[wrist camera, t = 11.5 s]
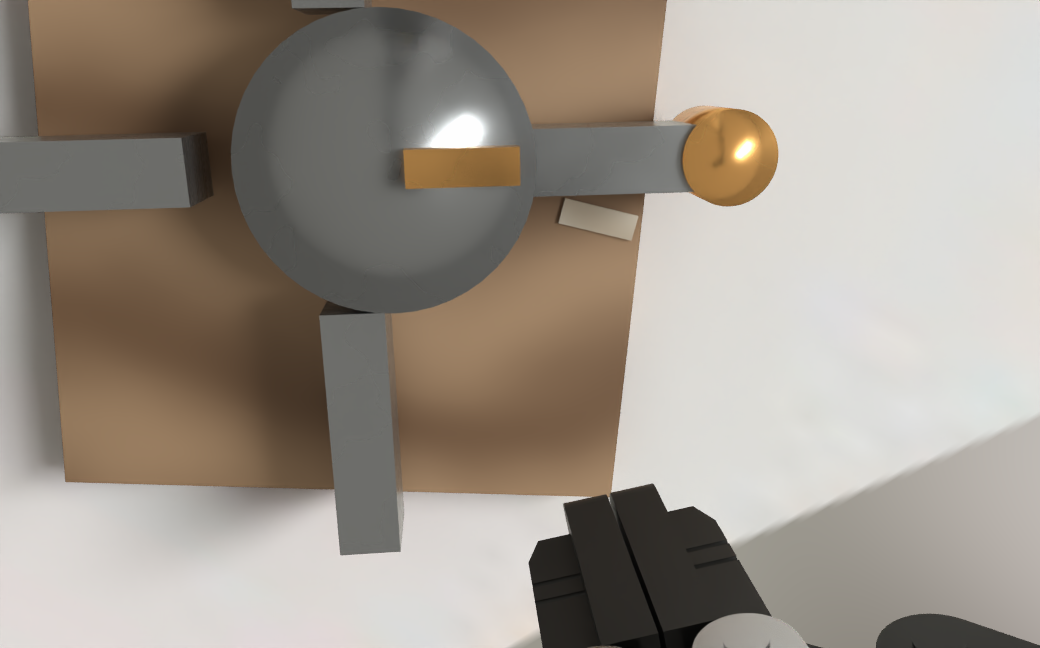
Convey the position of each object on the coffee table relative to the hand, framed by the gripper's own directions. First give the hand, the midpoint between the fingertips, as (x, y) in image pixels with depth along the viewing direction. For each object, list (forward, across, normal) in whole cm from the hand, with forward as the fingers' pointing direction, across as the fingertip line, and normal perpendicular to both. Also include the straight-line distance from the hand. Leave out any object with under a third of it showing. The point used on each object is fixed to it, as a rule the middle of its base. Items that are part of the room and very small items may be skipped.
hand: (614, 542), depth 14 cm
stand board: (+16, +4, -6) cm, 17 cm away
